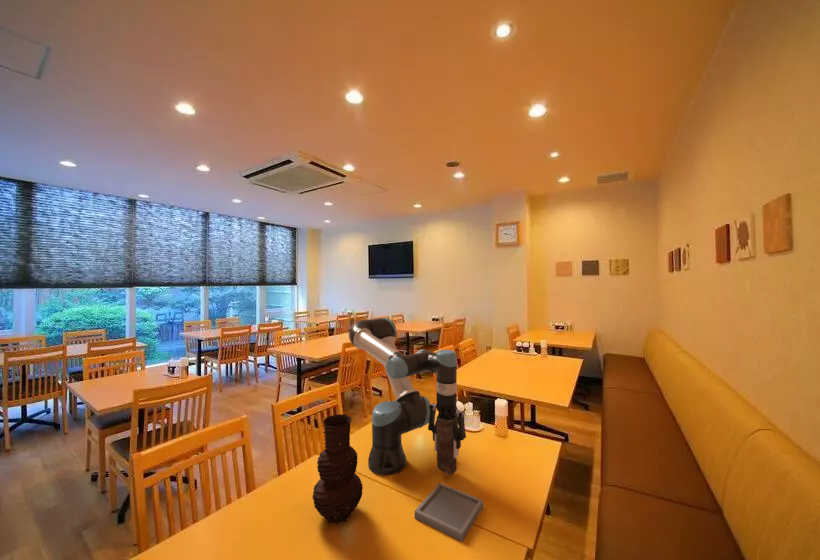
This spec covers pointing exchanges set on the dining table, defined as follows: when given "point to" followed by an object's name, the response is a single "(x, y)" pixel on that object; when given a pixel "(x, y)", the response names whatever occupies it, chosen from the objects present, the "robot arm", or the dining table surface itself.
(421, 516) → the tray
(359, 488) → the vase
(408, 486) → the dining table surface
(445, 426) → the brown cylinder
